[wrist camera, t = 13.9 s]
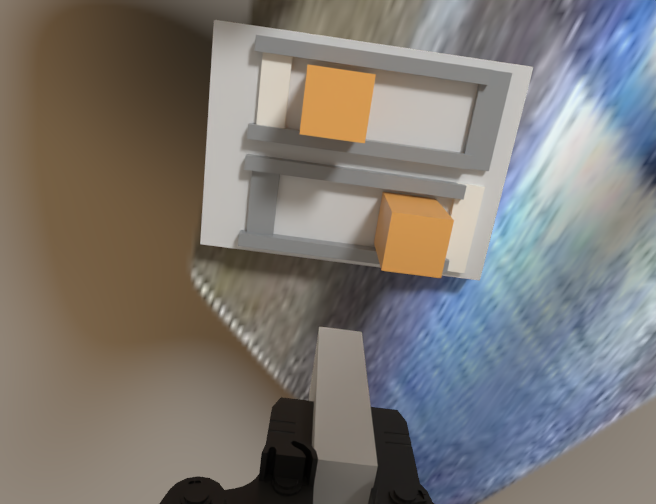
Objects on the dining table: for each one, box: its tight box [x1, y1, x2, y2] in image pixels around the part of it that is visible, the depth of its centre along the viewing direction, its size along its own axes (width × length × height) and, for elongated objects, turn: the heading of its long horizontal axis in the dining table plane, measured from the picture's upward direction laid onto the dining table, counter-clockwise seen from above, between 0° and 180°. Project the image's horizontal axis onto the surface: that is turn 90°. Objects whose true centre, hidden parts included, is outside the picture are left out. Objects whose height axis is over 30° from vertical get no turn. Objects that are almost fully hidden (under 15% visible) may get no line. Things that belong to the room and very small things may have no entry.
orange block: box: [299, 65, 376, 143], centre depth 34 cm, size 4×4×6 cm
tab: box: [374, 192, 454, 278], centre depth 37 cm, size 4×4×6 cm
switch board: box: [200, 20, 533, 280], centre depth 38 cm, size 22×16×3 cm
